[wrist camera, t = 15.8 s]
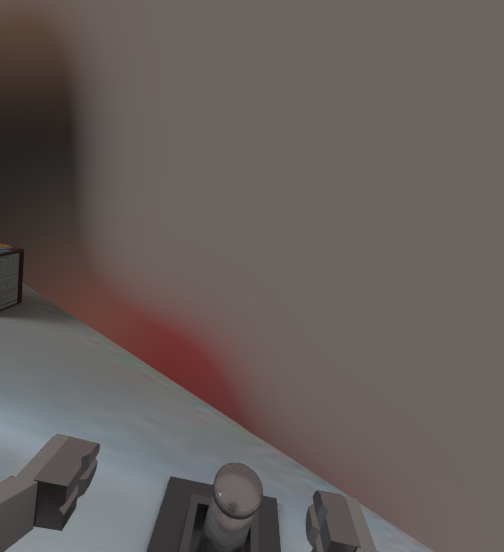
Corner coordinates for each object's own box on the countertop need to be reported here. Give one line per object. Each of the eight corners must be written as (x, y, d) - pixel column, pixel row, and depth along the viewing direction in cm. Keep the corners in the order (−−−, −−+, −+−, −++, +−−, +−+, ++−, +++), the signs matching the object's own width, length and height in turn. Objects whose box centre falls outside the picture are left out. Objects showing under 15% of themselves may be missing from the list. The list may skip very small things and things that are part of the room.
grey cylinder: (188, 583, 28) (211, 506, 26) (198, 525, 34) (218, 457, 31) (237, 592, 29) (264, 517, 26) (239, 533, 34) (262, 466, 32)
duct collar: (113, 657, 23) (118, 635, 23) (169, 479, 39) (173, 463, 38) (289, 688, 24) (299, 668, 23) (275, 501, 40) (280, 486, 39)
